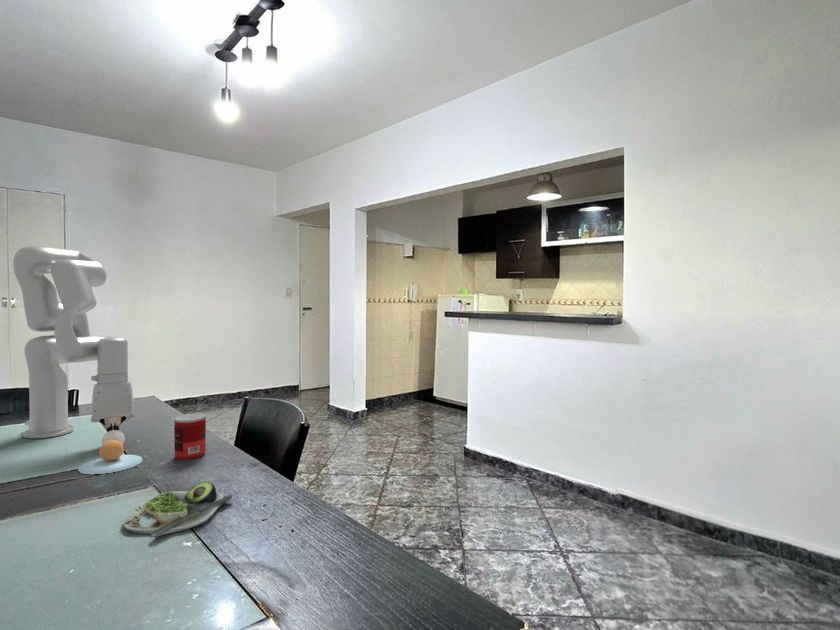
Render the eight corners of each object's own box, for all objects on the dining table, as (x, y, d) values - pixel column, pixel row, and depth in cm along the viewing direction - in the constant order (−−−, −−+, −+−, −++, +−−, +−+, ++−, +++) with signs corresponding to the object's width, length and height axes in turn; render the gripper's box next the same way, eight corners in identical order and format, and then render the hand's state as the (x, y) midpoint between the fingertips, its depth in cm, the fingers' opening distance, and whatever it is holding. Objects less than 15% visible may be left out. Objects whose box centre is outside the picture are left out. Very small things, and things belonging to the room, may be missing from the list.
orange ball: (94, 445, 120) (93, 459, 116) (113, 432, 121) (112, 446, 117) (110, 454, 123) (110, 468, 119) (128, 442, 124) (128, 455, 120)
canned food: (211, 451, 129) (211, 413, 128) (194, 461, 121) (194, 421, 120) (186, 450, 129) (186, 412, 129) (168, 459, 122) (168, 419, 121)
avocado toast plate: (198, 545, 80) (198, 520, 80) (97, 545, 80) (97, 520, 80) (238, 498, 100) (238, 477, 100) (157, 498, 99) (157, 477, 99)
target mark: (64, 470, 112) (64, 470, 112) (115, 453, 126) (115, 452, 126) (106, 477, 109) (106, 477, 109) (154, 458, 122) (154, 458, 122)
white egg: (97, 431, 127) (96, 451, 126) (115, 429, 127) (114, 449, 126) (111, 430, 133) (111, 449, 132) (129, 428, 132) (129, 447, 131)
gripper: (80, 382, 126) (81, 446, 127) (142, 378, 134) (142, 438, 135) (82, 378, 132) (83, 439, 133) (141, 374, 141) (141, 432, 141)
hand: (113, 438), depth 134 cm, fingers closed
